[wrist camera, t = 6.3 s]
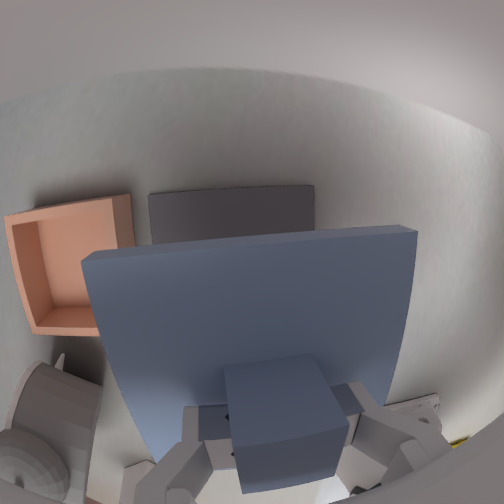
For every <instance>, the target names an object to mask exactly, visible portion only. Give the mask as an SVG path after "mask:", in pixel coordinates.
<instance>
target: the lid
mask: <svg viewBox="0 0 504 504" xmlns="http://www.w3.org/2000/svg"><path fill="white" fill-rule="evenodd" d="M417 235H418V231H416V230H413V229H410V228H407V227H404V226H401V225H388V226H372V227H358V228H343V229H330V230H316V231H303V232H290V233H278V234H266V235H254V236H242V237H231V238H220V239H209V240H198V241H187V242H177V243H166V244H156V245H146V246H136V247H127V248H117V249H108V250H99V251H94V252H92V253H91V254H90V255H88V256H87V257H85V258H84V259H83V260H81V261H80V262H81V267H82V272H83V276H84V280H85V285H86V289H87V293H88V297H89V300H90V304H91V308H92V311H93V315H94V318H95V322H96V325H97V328H98V331H99V335H100V338H101V341H102V344H103V347H104V350H105V352H106V355H107V358H108V361H109V363H110V366H111V369H112V371H113V374H114V377H115V379H116V382H117V384H118V386H119V389H120V391H121V394H122V396H123V398H124V401H125V403H126V405H127V407H128V409H129V412H130V414H131V416H132V418H133V420H134V422H135V424H136V426H137V428H138V430H139V432H140V434H141V436H142V438H143V440H144V442H145V444H146V446H147V448H148V449H149V451H150V453H151V455H152V457H153V458H154V460H155V462H156V464H157V463H158V462H159V461H160V460H161V459H162V458H163V457H164V455H165V454H166V453H167V452H168V451H169V450H170V449H171V448H172V447H173V446H174V445H175V444H176V443H177V442H181V437H182V420H183V409H184V406H199V405H215V404H227V405H228V414H229V422H230V431H231V439H232V447H233V452H234V457H235V462H236V467H237V468H228V469H237V471H238V476H239V480H240V485H241V489H242V494H246V493H254V492H262V491H268V490H275V489H280V488H286V487H291V486H296V485H300V484H305V483H309V482H313V481H317V480H321V479H325V478H329V477H332V476H334V475H335V472H336V469H337V466H338V463H339V460H340V457H341V454H342V451H343V448H344V444H345V441H346V437H347V434H348V430H349V427H350V423H349V422H348V420H347V418H346V416H345V414H344V413H343V411H342V409H341V407H340V405H339V403H338V402H337V400H336V398H335V396H334V394H333V393H332V391H331V389H330V386H334V385H338V384H342V383H346V382H350V381H353V380H357V379H358V380H360V381H361V383H362V384H363V385H364V387H365V388H366V390H367V391H368V392H369V394H370V395H371V397H372V398H373V399H374V401H375V402H376V404H377V405H378V407H382V406H383V407H384V404H385V401H386V398H387V395H388V392H389V388H390V385H391V382H392V378H393V375H394V371H395V367H396V363H397V360H398V356H399V351H400V347H401V343H402V338H403V334H404V329H405V324H406V319H407V314H408V308H409V302H410V296H411V290H412V283H413V275H414V267H415V258H416V248H417ZM349 446H350V445H349ZM345 447H347V446H345ZM218 470H227V469H218Z"/></svg>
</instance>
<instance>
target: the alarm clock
mask: <svg viewBox="0 0 504 504" xmlns="http://www.w3.org/2000/svg"><path fill="white" fill-rule="evenodd" d="M64 357H65V354H64V353H62V354H61V356H60V357H59V359H58V361H57V363H56V365H55V366H54V367H53V366H51V365H48V364H46V363H44V362H42V361H36V362H34V363H33V364H32V365H31V366H30V367H29V368H28V369H27V370H26V372H25V373H24V375H23V377H22V378H21V380H20V382H19V384H18V386H17V388H16V390H15V393H14V395H13V398H12V401H11V404H10V407H9V411H8V414H7V418H6V424H5V430H3V431H1V432H0V478H2V479H4V480H6V481H8V482H10V483H12V484H14V485H17V486H19V487H21V488H24V489H26V490H29V491H31V492H34V493H36V494H39V495H42V496H45V497H47V498H50V499H53V500H56V501H59V502H63V503H66V504H85V499H86V491H87V482H88V474H89V467H90V460H91V453H92V447H93V440H94V434H95V429H96V423H97V417H98V412H99V407H100V402H101V396H102V390H103V389H102V387H101V386H99V385H97V384H94V383H91V382H89V381H86V380H83V379H81V378H78V377H76V376H74V375H71V374H69V373H66V372H64V371H63V364H64Z"/></svg>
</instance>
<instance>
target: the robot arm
mask: <svg viewBox="0 0 504 504" xmlns="http://www.w3.org/2000/svg"><path fill="white" fill-rule="evenodd" d="M330 389H331V391H332V393H333V394H334V396H335V398H336V400H337V402H338V403H339V405H340V407H341V409H342V411H343V413H344V414H345V416H346V418H347V420H348V422H349V423H350V427H349V430H348V434H347V437H346V441H345V444H344V448H343V451H342V454H341V457H340V460H339V463H338V466H337V469H336V472H335V473H336V474H337V476H338V477H339V478H340V480H341V481H342V482H343V484H344V485H345V487H346V488H347V490H348V492H349V493H350V497H349V498H346V499H343V500H339V501H336V502H333V503H329V504H504V413H502V414H501V415H500V416H499V417H497V418H496V419H495V420H494V421H492V422H491V423H490V424H488V425H487V426H486V427H484V428H483V429H482V430H480V431H479V432H478V433H476V434H475V435H473V436H472V437H470V438H469V439H468V440H466V441H465V442H463V443H461V444H460V445H458V446H457V447H455V448H454V449H453V448H452V446H451V445H450V444H449V443H448V441H447V440H446V439H445V438H444V436H443V435H442V434H441V432H442V424H441V421H440V419H439V417H438V416H437V414H436V413H437V411H438V408H439V404H440V398H439V396H438V394H437V393H436V394H432V395H428V396H425V397H421V398H417V399H413V400H409V401H405V402H401V403H397V404H392V405H388V406H384V407H383V406H382V407H378V405H377V404H376V402H375V401H374V399H373V398H372V397H371V395H370V394H369V392H368V391H367V390H366V388H365V387H364V385H363V384H362V383H361V381H360V380H358V379H357V380H353V381H350V382H346V383H342V384H338V385H334V386H330ZM349 445H350V446H349ZM345 446H347V447H345ZM228 468H237V467H236V462H235V457H234V452H233V447H232V439H231V431H230V422H229V414H228V405H227V404H215V405H199V406H184V409H183V420H182V437H181V442H177V443H176V444H175V445H174V446H173V447H172V448H171V449H170V450H169V451H168V452H167V453H166V454H165V455H164V457H163V458H162V459H161V460H160V461H159V462H158V463H157V464H156V465H155V466H154V467H153V468H152V469H151V470H150V471H149V472H148V473H147V474H146V475H145V476H144V477H143V478H142V479H141V480H140V481H139V482H138V483H137V484H136V487H135V495H134V503H133V504H197V503H196V502H195V499H196V497H197V496H198V494H199V493H200V491H201V490H202V488H203V487H204V485H205V484H206V482H207V481H208V479H209V477H210V476H211V474H212V473H213V470H218V469H228ZM0 504H66V503H63V502H59V501H56V500H53V499H50V498H47V497H45V496H42V495H39V494H36V493H34V492H31V491H29V490H26V489H24V488H21V487H19V486H17V485H14V484H12V483H10V482H8V481H6V480H4V479H2V478H0Z"/></svg>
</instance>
